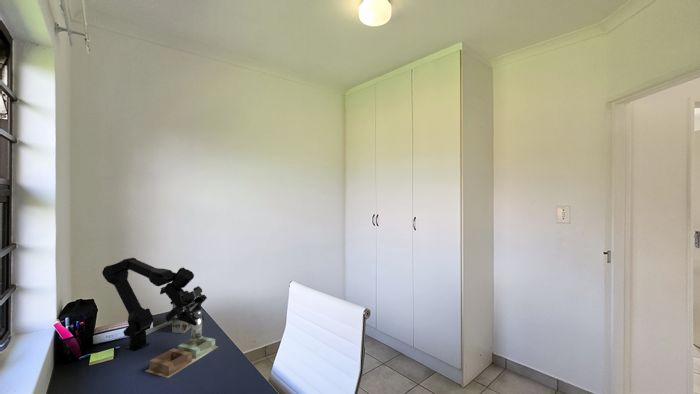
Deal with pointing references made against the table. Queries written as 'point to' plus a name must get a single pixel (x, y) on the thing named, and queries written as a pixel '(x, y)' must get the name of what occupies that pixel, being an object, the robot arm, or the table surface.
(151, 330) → the long grey bar
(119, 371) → the table surface
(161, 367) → the wooden desk organizer
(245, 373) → the table surface
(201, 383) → the table surface
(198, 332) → the shiny grey rounded piece
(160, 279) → the robot arm
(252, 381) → the table surface
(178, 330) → the coffee box
